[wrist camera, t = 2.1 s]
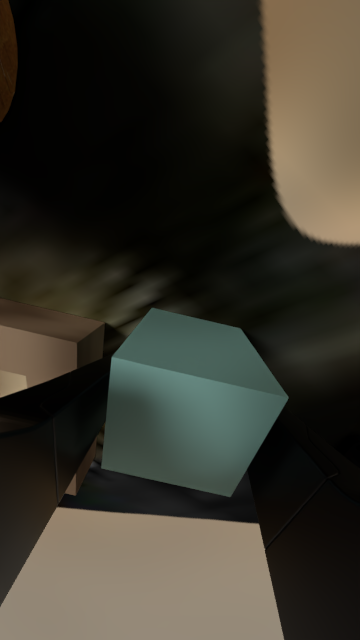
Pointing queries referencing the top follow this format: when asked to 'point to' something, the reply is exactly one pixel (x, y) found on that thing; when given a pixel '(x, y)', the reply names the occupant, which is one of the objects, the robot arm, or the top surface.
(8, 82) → the disposable coffee cup
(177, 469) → the teal cube
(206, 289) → the top surface
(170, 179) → the top surface
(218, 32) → the top surface
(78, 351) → the walnut base
